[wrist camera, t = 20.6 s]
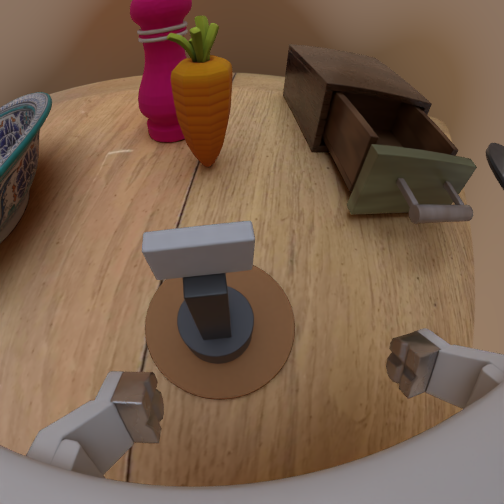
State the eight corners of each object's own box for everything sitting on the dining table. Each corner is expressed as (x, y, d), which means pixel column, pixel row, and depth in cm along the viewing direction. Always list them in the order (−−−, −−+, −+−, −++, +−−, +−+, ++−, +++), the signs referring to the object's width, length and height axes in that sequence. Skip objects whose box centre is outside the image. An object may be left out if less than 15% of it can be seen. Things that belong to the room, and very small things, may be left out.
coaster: (279, 255, 21) (280, 251, 21) (305, 387, 16) (307, 387, 16) (149, 267, 20) (147, 263, 20) (150, 402, 15) (147, 401, 14)
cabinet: (407, 157, 30) (432, 103, 23) (311, 152, 29) (327, 83, 21) (362, 102, 38) (375, 57, 31) (282, 95, 36) (289, 44, 29)
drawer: (463, 244, 22) (500, 201, 16) (367, 256, 21) (405, 197, 15) (393, 135, 31) (409, 93, 26) (308, 127, 30) (319, 77, 24)
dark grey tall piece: (246, 295, 19) (255, 180, 10) (257, 359, 16) (280, 291, 8) (182, 303, 18) (136, 194, 10) (187, 366, 16) (125, 306, 7)
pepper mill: (177, 151, 28) (158, -32, 11) (133, 137, 29) (105, -16, 13) (215, 121, 31) (213, -35, 14) (171, 110, 33) (159, -27, 16)
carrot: (217, 189, 25) (210, 23, 12) (173, 174, 26) (150, 25, 13) (241, 159, 27) (246, 14, 15) (200, 146, 28) (192, 13, 16)
